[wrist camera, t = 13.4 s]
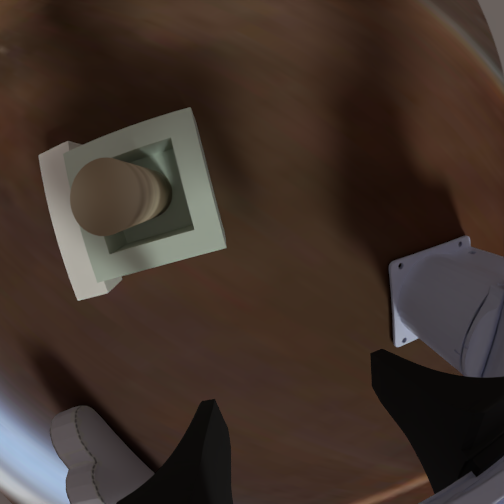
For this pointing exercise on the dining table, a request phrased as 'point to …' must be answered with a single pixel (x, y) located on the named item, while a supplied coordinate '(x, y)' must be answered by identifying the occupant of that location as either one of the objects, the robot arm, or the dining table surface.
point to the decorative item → (95, 458)
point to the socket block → (182, 204)
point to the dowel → (117, 196)
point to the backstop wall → (69, 225)
